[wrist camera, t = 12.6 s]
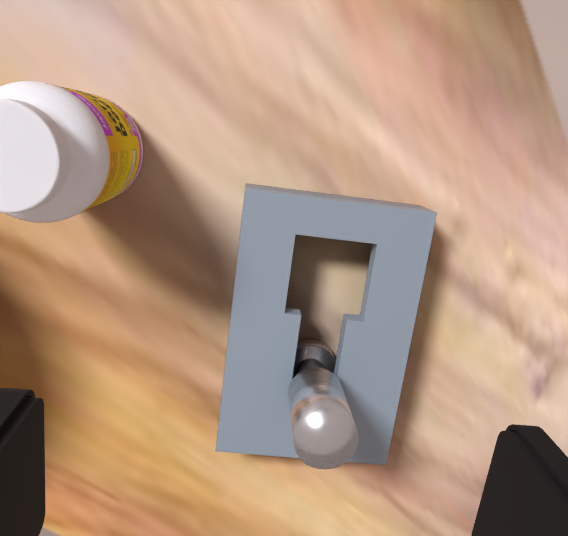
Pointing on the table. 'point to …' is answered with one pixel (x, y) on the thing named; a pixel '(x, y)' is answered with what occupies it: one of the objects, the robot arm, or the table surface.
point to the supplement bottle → (62, 151)
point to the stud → (319, 409)
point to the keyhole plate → (286, 321)
